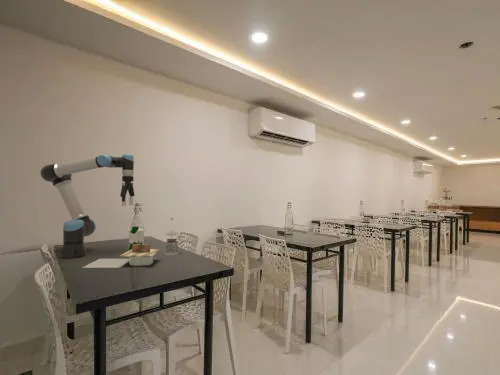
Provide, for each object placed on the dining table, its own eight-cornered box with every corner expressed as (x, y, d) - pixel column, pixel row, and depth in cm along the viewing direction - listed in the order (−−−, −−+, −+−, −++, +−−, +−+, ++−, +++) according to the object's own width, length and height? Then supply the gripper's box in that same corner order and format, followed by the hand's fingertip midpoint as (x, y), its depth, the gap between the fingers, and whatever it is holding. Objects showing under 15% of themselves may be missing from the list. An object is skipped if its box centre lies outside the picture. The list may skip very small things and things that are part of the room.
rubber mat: (82, 268, 166) (82, 267, 166) (99, 259, 187) (99, 258, 187) (119, 268, 167) (119, 267, 167) (133, 259, 188) (133, 258, 188)
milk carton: (126, 257, 191) (126, 227, 191) (133, 254, 200) (133, 225, 200) (139, 258, 190) (139, 227, 190) (145, 255, 199) (146, 225, 199)
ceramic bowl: (126, 266, 171) (126, 256, 171) (134, 260, 184) (134, 251, 184) (148, 266, 171) (148, 256, 171) (155, 260, 184) (155, 251, 184)
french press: (166, 251, 210) (167, 216, 210) (183, 252, 210) (183, 217, 210) (162, 254, 200) (162, 218, 200) (179, 255, 200) (179, 218, 200)
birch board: (120, 257, 168) (120, 247, 168) (131, 250, 186) (131, 242, 186) (152, 256, 169) (152, 247, 169) (160, 250, 187) (160, 241, 187)
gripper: (126, 175, 199) (126, 206, 199) (139, 176, 223) (138, 204, 223) (115, 175, 198) (114, 206, 198) (129, 176, 223) (128, 204, 223)
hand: (127, 205), depth 211 cm, fingers open, 13 cm apart
